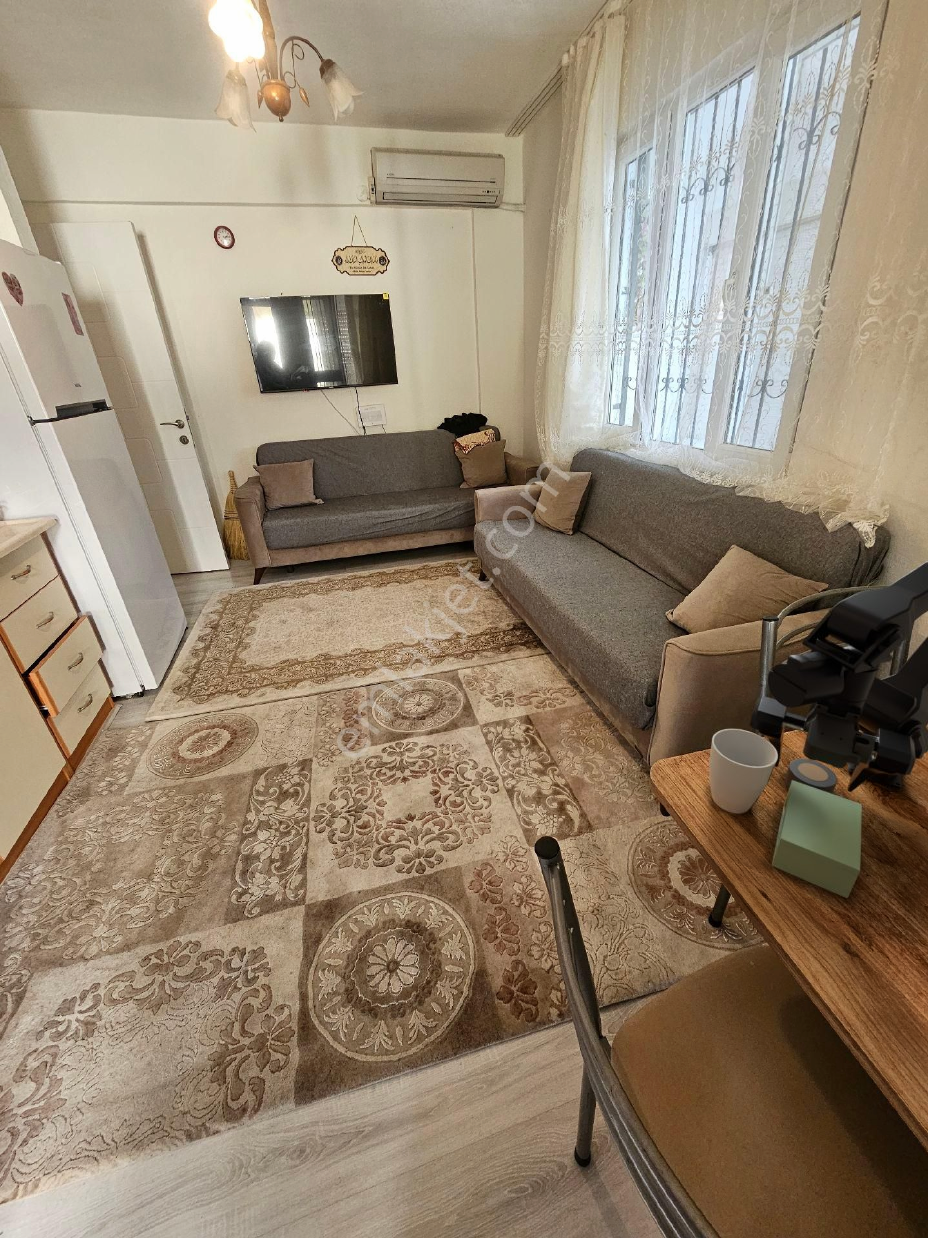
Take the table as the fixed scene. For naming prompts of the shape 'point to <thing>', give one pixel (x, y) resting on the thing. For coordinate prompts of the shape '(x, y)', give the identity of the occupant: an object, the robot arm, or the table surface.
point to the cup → (739, 768)
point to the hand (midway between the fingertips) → (811, 777)
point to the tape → (811, 775)
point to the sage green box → (820, 838)
